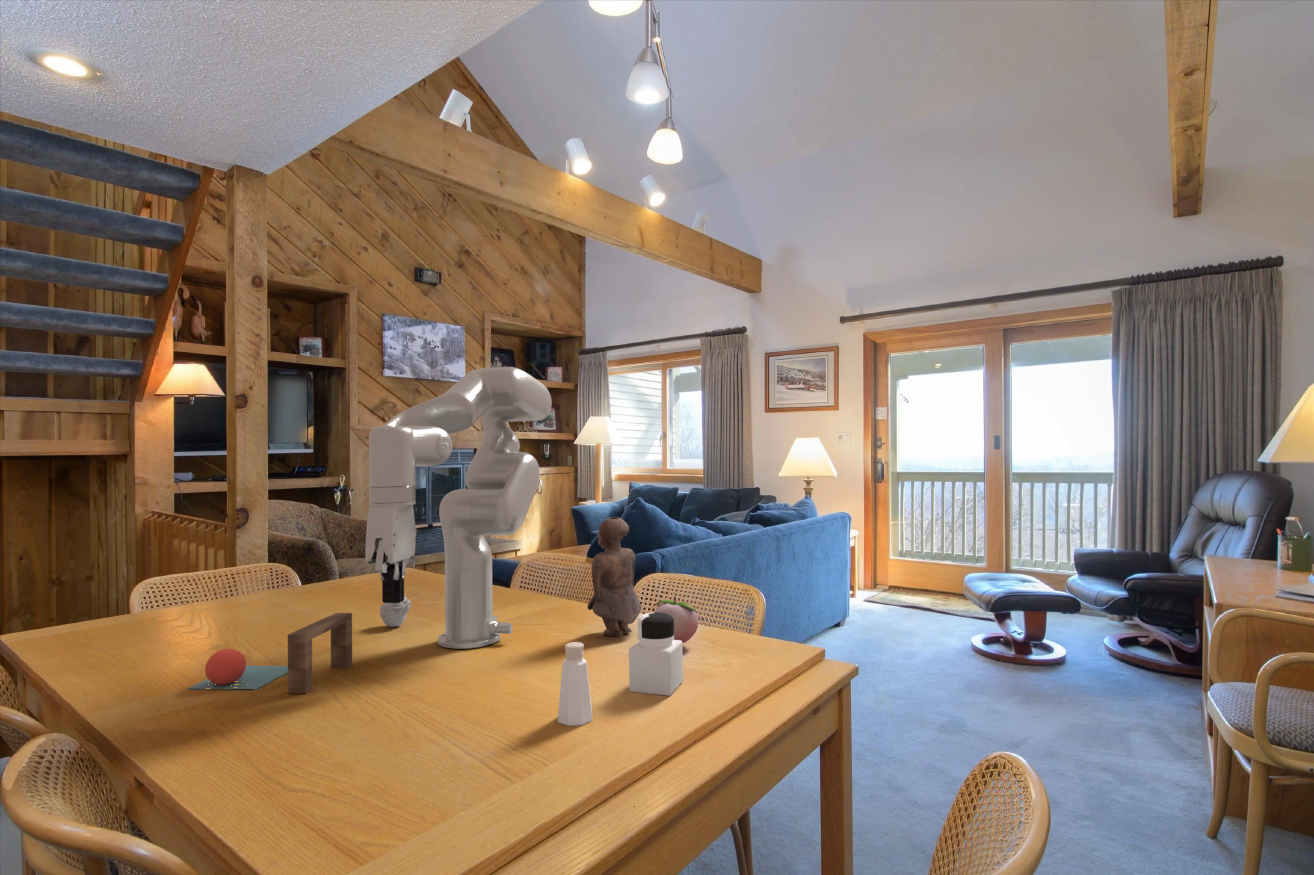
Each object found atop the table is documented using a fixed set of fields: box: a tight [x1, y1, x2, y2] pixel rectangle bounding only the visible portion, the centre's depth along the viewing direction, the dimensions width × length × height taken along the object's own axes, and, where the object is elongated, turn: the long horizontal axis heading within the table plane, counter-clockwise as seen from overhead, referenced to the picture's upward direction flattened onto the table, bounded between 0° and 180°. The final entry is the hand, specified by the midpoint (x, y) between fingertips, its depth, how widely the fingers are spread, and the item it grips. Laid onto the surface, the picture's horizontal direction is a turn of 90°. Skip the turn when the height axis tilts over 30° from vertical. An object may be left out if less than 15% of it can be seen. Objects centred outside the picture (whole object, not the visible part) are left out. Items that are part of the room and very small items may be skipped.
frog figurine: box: [379, 595, 412, 628], centre depth 156 cm, size 6×7×7 cm
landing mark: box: [187, 665, 288, 691], centre depth 122 cm, size 12×12×1 cm
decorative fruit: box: [654, 596, 699, 645], centre depth 138 cm, size 9×8×10 cm
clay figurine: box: [587, 516, 642, 637], centre depth 148 cm, size 13×10×25 cm
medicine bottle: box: [628, 611, 684, 697], centre depth 115 cm, size 7×7×12 cm
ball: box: [204, 648, 247, 685], centre depth 119 cm, size 6×6×6 cm
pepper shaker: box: [557, 641, 593, 727], centre depth 102 cm, size 5×5×11 cm
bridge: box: [287, 612, 353, 694], centre depth 121 cm, size 3×15×10 cm, turn 176°
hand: (393, 601), depth 120 cm, fingers closed
